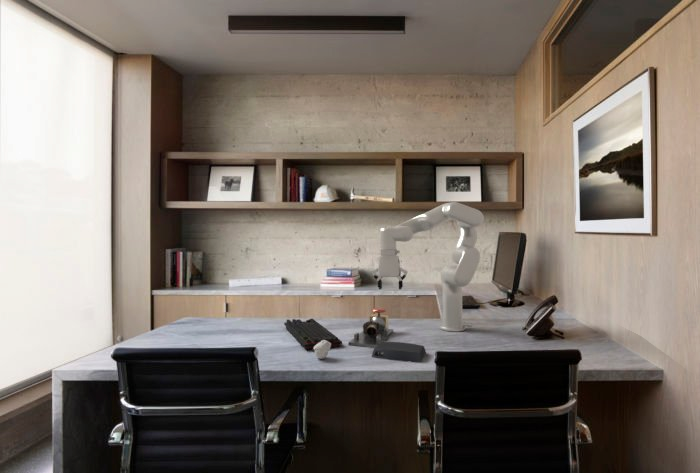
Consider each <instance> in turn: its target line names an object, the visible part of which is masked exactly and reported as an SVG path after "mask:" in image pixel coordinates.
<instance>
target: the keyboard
mask: <svg viewBox="0 0 700 473" xmlns="http://www.w3.org/2000/svg"><path fill="white" fill-rule="evenodd" d="M283 325H284V326H285V329H286V330H287V331H288V332H289V333H290V334H292V337H293V338H294V339H295V340H296V341H297V343H299V344H300V346H301V347H302V348H303V349H304V351H307V352H308V351H314V349H313V348H314V346H315V345H316V344H318V343H319V342H321V341H322V340H326V341H328V342H330V343H331V347H330V349H331V348H332V349H333V348H340V347H341V345H342V344H343V341H342V340H341V339H339V337H337V336H336V335H335V334H333V333H332V332H331V331H330V330H328V329H327V328H326V327H324V326H323V325H322V324H320V323H319V322H318V321H316V320H315V319H314V318H310V319H307V320H304V321H303V320H301V319H295V318H292V320H290V319H286V322H283Z"/></svg>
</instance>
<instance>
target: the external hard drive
mask: <svg viewBox="0 0 700 473" xmlns="http://www.w3.org/2000/svg"><path fill="white" fill-rule="evenodd" d="M426 355H427V351H426V348H425V346H424V345H421V344H416V343H410V342H401V341H384V342H381V343H380V344H379V345H378V346H377V347H376V348H373V351H372V353H371V357H372V358H374V359H384V360H389V361H390V360H391V361H399V362H408V361H411V362H410V363H422V362H423V359H424V358H425V356H426Z"/></svg>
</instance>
